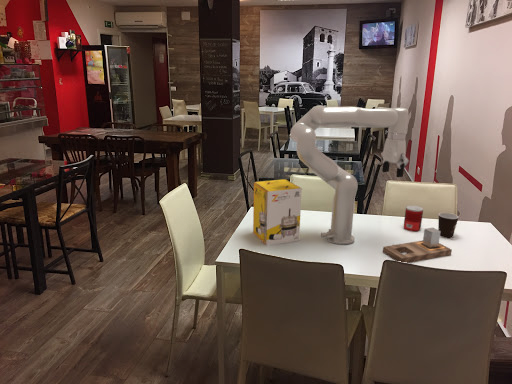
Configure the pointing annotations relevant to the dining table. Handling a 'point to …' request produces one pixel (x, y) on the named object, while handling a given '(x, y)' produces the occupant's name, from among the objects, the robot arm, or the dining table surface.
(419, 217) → the canned food
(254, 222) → the packaging box
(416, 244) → the socket board
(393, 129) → the robot arm
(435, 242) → the metal block
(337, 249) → the dining table surface
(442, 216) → the coffee mug
